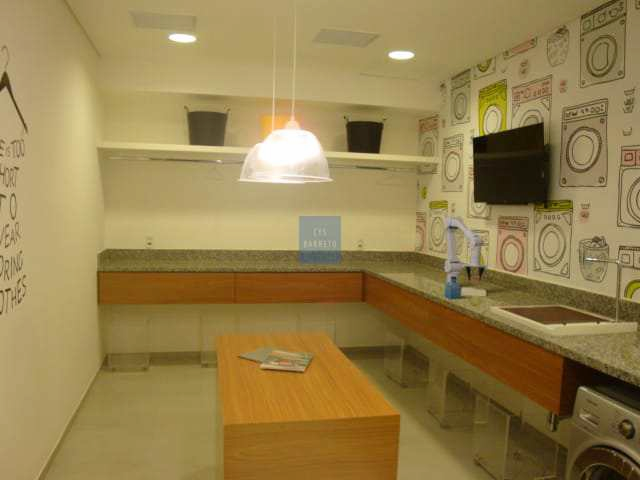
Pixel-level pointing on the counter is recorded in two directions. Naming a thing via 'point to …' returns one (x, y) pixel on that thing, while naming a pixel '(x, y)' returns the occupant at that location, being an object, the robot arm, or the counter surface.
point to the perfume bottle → (453, 289)
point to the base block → (474, 291)
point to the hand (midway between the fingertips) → (474, 280)
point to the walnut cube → (474, 279)
